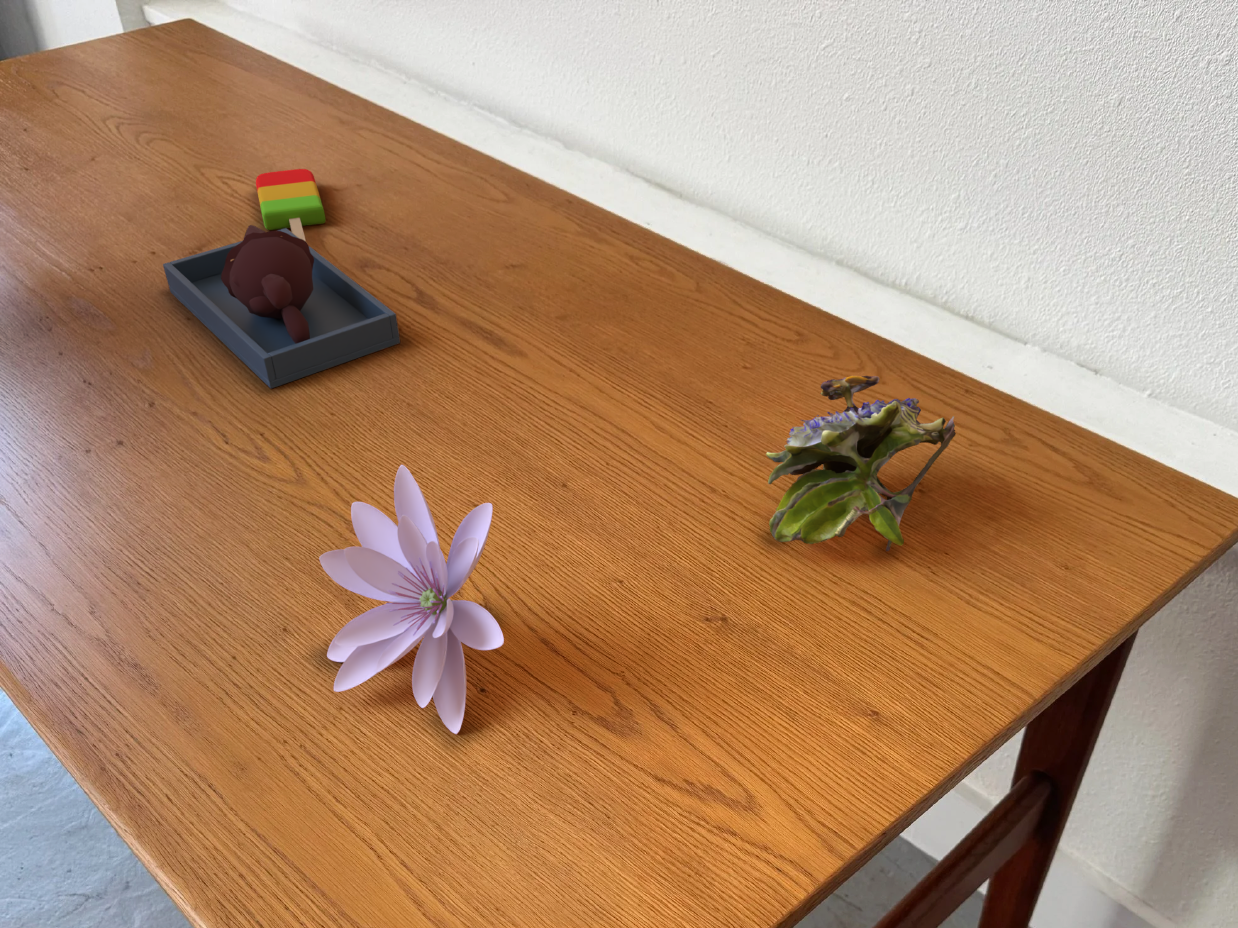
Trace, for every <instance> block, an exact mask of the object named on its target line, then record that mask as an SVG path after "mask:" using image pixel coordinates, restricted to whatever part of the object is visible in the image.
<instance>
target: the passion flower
mask: <svg viewBox="0 0 1238 928" xmlns="http://www.w3.org/2000/svg"><path fill="white" fill-rule="evenodd" d="M879 382H880V376H878V375H873V376H871V375H862V376H861V375H850V376H848V377H846V376H845V377H843V378H840V379H835V378H834V379H828V380H825V381H823V382H822V383H821V384H820V389H821V392H820V395H821V396H822V397H827V399H828V401H834V400H839V399H840V400H841V399H843V398H844V400H845V402H846V408H845V409H844V410H843V411H842V412H839V411H837V410H836V411H835V413H831V412H830V411H827V414H828V416H820V415H819V414H817V415H816V416H815V417H813V418H812V419H800V421H801V422H804V423H803V426H792V427H791V429H790V431H789V433H788V435H789V437H787V440H785V441H786V444H784V449H785V450H782V451H781V452H780V451H779V452H770V451H767V452H765V456H766V457H767V458H768V459H769V460H771V461H773V462H774V463H778V465H777V466H776V467H774V469H773V470H772V472H771V473H770V474H769V476H768V480H767V483H768V485H772V484H773V482H775V481H776V480H778V479H779V478H781V477H783V476H788V475H791V476H798V477H797V479H796V481H795V482H793V483H792V485H790V487H788V489H787V490H786V491H785V492H784V494H783V496H782V498H781V500H780V501H779V503H778V505H777V507H776V508H775V513H773V515H772V517H771V518H770V519H769V522H768V525H769V531H770V533H771V534H770V535H771V536H772V537H773V538H774V540H775V541H776V542H779V543H787V542H793V541H801V542H802V543H804V544H806V545H815V544H819V543H822V542H826V541H828V540H831V539H833V538H835V537H838V538H843V537H844V536H845V535H846V532H847V529H848V527H850V526H851V525H852V524H853V523H855V522H856V520H857V519H858V518H859V517H861V516H863V515H868V519H869V522H870V523H871V525H873V528H874V530H875V531H877V533H879V534H880V535H882V537H884V538H885V539H886V540H888V541H887V544H886V548H885V552H889V551H890V550H891V546H892V543H893V544H895V545H897V546H900V547H901V546H903V545H904V542H905V540H904V538H903V534H902V531H901V528H900V523H901V520H902V517H903V515H904V511H905V510H906V509H907V507H908V505H909V504H910V502H911V501H912V498H913V494H914V492H915V490H916V488H917V486H918V485H919V484H920V482H921V481H922V480H923V479H924V477H925V476H926V474H927V472H928V471H929V470H930V468H931V467H932V466H933V464H934V463H935V462H936V460H937V459H938V458H939V457H940V455H941V454H942V453H943V452H944V451H945V450H946V449H947V448H948V447H949V445H950V443H951V441H952V440H953V439H954V437H956V435H957V433H956V430H955V427H956V425H955V422H954V419H955V416H954V415H953V416H952V417H951V418H950V419H949V420H948V422H947V421H946V419H945V418H944V417H941V418H938V419H936V420H935V421H933V422H928V423H927V422H926V423H923V422H920V421H919V420H917V419H918V417H919V415H920V413H921V412H922V408H920V407H919V406H917V405H919V403H920V400H919V399H918V398H916V397H914V398H913V397H912V398H911V397H908V398H906V399H904V400H902V401H901V400H900V399H899V398H894V399H892V400H891V401H889V402H888V403H886V402H885V400H879V399H876V400H875V402H874V403H870V401H866V402H865V401H864V402H862V405H861V407H858V406H857V405H856V404H855V402H854V399H853V398H854V394H855V393H860V392H863V391H865V390H867V389H869V388H872V387H874V386H876V385H877V384H879ZM946 422H947V423H946ZM945 424H946V425H945ZM944 426H945V427H944ZM922 443H926V444H931V445H934V446H937V445H938V444H939V443H940V446H939V448H938V449H937V450H936V451H935V452H934V453H932V456H931V457H930V458H929V459H928V461H927V462H926V464H925V465H924V467H923V468H922V469H921V470H920V471H919V473H918V474H917V475H916V477H915V478H914V479H913V481H912V482H911V483H910V484H909V485H907V486H906V487H905V488H903V489H901V490H899V491H891V490H890V489H888V488H887V487H886V486H885V485H884V484H883V482H882V481H881V480H880V479H879V477H878V474H879V471H880V470H881V468H883V466H885V465H886V464H887V463H888V462H889V461H890V460H891V459H892V458H893V457H894V456H895V455H896V454H898V453H899V452H901V451H904V450H906V449H909V448H911V447H915V446H918V445H920V444H922ZM779 463H780V464H779ZM821 466H822V469H821V468H819V467H821ZM881 495H882V496H881ZM884 497H885V498H886V499H885V498H884Z"/></svg>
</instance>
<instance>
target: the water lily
mask: <svg viewBox="0 0 1238 928" xmlns="http://www.w3.org/2000/svg"><path fill="white" fill-rule="evenodd" d="M396 471H397V472H396V475H395V478H394V484H393V501H394V503H393V504H394V509H395V514H396V518H397V521H398V523H395V522H394V520H392V519H391V518H390V517H389V516H388V515H386V514H385V513H383V511H381V510H380V509H378V508H377V507H375V506H373V505H372V504H370V503H369V504H368V503H367V502H363V501H354V502H352V503H351V507H350V514H351V515H350V516H351V522H352V527H353V530H354V533H355V535H356V537H357V540H358V542H359V543H360V545H361V546H356V545H355V546H347V547H345V548H343V549H333V550H329V551H326V552H324V553H322V554H320V556H319V558H318V560H319V563H320V565H321V567H322V569H323V570H324V572H325V573H326V574H327V575H328V576H329V577H330V578H331V580H333V581H334V582H335V583H336V584H338V585H339V586H341V587H342V588H344V589H346V590H348V591H350V592H351V593H355V594H357V595H359V596H363V597H366V598H368V599H372V600H377V601H380V602H386V603H383V604H380V605H378V606H375V607H373V608H370V609H369V610H367V611H365V612H363V613H361V614H359V615H358V616H356V617H354V618H352V619H351V620H350V621H348V622H347V623H346V624H345V625H344V626H343V627H342V628H341V629H340V630H339V631H338V632H337V633H336V634H335V636H334V638H333V639H332V641H331V642H330V644H329V645H328V648H327V653H326V657H327V658H328V660H330V661H332V662H337V663H342V664H341V665H340V668H339V670H338V671H337V673H336V677H335V679H334V683H333V691H334V692H336V693H339V692H345V691H348V690H351V689H353V688H356V687H357V686H359V685H361V684H364V683H365V682H367V681H368V680H370V679H372V678H374V677H375V676H376V675H378V674H380V673H381V672H383V671H384V670H385V669H387V668H389V667H391V666H392V665H393V664H395V663H396V662H398V661H399V660H401V659H402V658H403V657H405V656H406V655H407V654H408V653H410V652H411V651H412V650H413V649H414V648H415V647H416V646H417V645H418V644H419V643H420V642H421V643H420V645H419V647H418V649H417V653H416V655H415V657H414V662H413V665H412V666H413V667H412V675H411V687H412V692H413V696H414V699H415V701H416V703H417V705H418V706H419V707H420V708H421V709H424V708H426V707H428V704H429V703H430V702H431V700H432V698H433V702H434V706H435V709H436V711H437V714H438V716H439V718H440V720H441V721H442V723H443V725H445V727H446V728H447V729H448V730H449V731H450V732H451V733H452V734H454V735H458V734H459V732H460V731H461V728H462V725H463V722H464V716H465V711H466V702H467V668H466V661H465V654H464V650H463V645H462V644H464V645H465V646H467V647H469V648H471V649H473V650H479V651H490V650H496V649H498V648H501V647H502V646H503V645H504V643H505V638H504V637H505V636H504V634H503V631H502V629H501V626H500V624H499V623H498V621H497V620H496V619H495V617H494V616H493V615H492V613H490V611H488V610H487V609H486V608H484V607H483V606H482V605H480V604H478V603H477V602H475V601H472V600H465V599H454V600H453V599H451V597H452V596H454V595H455V594H456V593H458V592H459V591H460V589H462V587H463V586H464V585H465V584H466V582H467V581H468V579H469V578H470V576H471V575H472V573H473V571H474V570H475V568H476V566H477V565H478V564H479V561H480V559H481V557H482V554H483V552H484V550H485V547H486V544H487V541H488V537H489V534H490V529H491V526H492V519H493V510H494V509H493V508H494V506H493V503H491V502H484V503H482V504H481V503H480V505H478V506H476V507H474V508H473V509H472V510H470V511H469V512H468V513H467V514H466V516H464V518H463V519H462V520H461V522H460V524H459V525H458V527H457V529H456V531H455V533H454V535H453V538H452V541H451V544H450V548H449V552H448V555H447V560H446V559H445V556H444V554H443V551H442V549H441V544H440V539H439V535H438V530H437V527H436V526H437V525H436V523H435V520H434V516H433V514H432V511H431V509H430V506H429V503H428V502H427V500H426V499H427V498H426V497H425V495H424V492H423V491H422V489H421V487H420V485H419V484H418V482H417V481H416V479H415V477H414V475H413V474H412V473H411V471H410V470H409V469H408V468H407V467H406V466H405V465H404V464H400V466H399V467H398V469H397V470H396Z"/></svg>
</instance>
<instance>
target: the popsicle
mask: <svg viewBox="0 0 1238 928" xmlns="http://www.w3.org/2000/svg"><path fill="white" fill-rule="evenodd" d="M255 188H256V193H257V197H258V203H259V207H260V213H261V216H262V222H263V226H264V228H265V229H266V230H267V231H276V230H281V229H284V228H287V229H290V230H291V232H292V233H293V234H294V235H296V236H297V237H298V238H300V239H302V240H304V241H306V242H307V240H306V236H305V233H304V229H303V227H307V226H316V225H322V224H325V223H326V213H325V210H324V206H323V202H322V199H321V196H320V192H319V189H318V186H317V183H316V178H315V175H314V174H313V172H312V171H311V170H309V169H308V168H307V169H306V168H296V169H295V168H293V169H286V170H278V171H269V172H263V173H261V174H258V175H257V177H256V179H255Z"/></svg>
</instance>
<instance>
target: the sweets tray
mask: <svg viewBox="0 0 1238 928" xmlns="http://www.w3.org/2000/svg"><path fill="white" fill-rule="evenodd" d="M277 231H282V232H284V233H287V234H289V235H291V236H293V237H296V238H298V237H297V236H296V235H294V234H293V233H292V231H290V230H289V228H283V229H277ZM242 241H243V240H240V241H237V242H234V243H230V244H227V245H224V246H220V247H216V248H213V249H209V250H206V251H202V252H198V253H196V254H192V255H188V256H185V257H182V258H179V259H175V260H171V261H169V262H165V263H163V264H162V267H163V270H164V274H165V278H166V281H167V286H168V289H169V291H170V293H171V294H172V295H173V296H174V297H175V298H176V299H177V300H178V301H179V302H180V303H181V304H182V305H183V306H184V307H185V309H187V310H188V311H189V312H191V313H192V314H193V316H194V317H196V319H198V320H199V321H200V322H201V323H202V324H203V325H204V326H205V327H206V328H207V329H208V330H209V331H210V332H211V333H212V334H213V335H214V336H215V337H216V338H218V340H219V341H221V343H223V344H224V345H225V346H226V347H227V348H228V350H230V351H231V352H232V353H233V354H234V355H235V356H236V357H237V358H238V359H239V360H240V361H241V362H242V363H243V364H244V365H246V366H247V368H249V370H251V371H252V372H253V373H254V374H255V375H256V376H257V378H259V379H260V380H261V381H262V382H263V383H264V384H265V385H266V386H267V387H268V388H269V389H275V388H277V387H280V386H283V385H286V384H289V383H291V382H294V381H297V380H299V379H303V378H305V377H309V376H311V375H314V374H317V373H319V372H322V371H325V370H328V369H332V368H333V367H336V366H339V365H343V364H345V363H347V362H351V361H354V360H356V359H359V358H362V357H364V356H368V355H370V354H373V353H377V352H380V351H382V350H385V349H387V348H390V347H393V346H396V345H398V344H400V343H401V339H400V333H399V332H400V331H399V327H398V326H399V325H398V319H397V313H395V311H393V310H391V308H390V307H388V306H387V305H385V304H384V303H383V302H382V301H381V300H379V299H378V298H376V296H374V295H373V294H371V293H370V292H368V291H367V290H366V289H365V288H363V287H362V286H361V285H359V284H358V283H357V282H356V281H355V280H353V279H352V278H351V277H350V276H348V275H347V274H346V273H344V272H343V271H341V269H339V268H338V267H337V266H335V265H334V264H333V263H332V262H331V261H329V260H328V259H326V257H324V256H322V255H321V254H320V253H319V252H317V250H315V249H313V248H312V247H311V246H310V245H308V246H309V249H310V253H311V254H312V255H313V257H314V264H313V269H312V280H313V291H312V293H311V295H310V296H309V298H308V300H307V301H306V303H305V304H304V306H303V308H302V309H301V311H300V312H301V313H302V314H303V316H304V317H305V319H306V320H307V322H308V325H309V333H310V339H309V340H306V341H303V342H300V343H297V344H296V343H295V342H294V341H293V340H292V338H291V337H290V335H289V333H288V332H287V329H286V326H285V323H284V320H283V319H274V318H267V317H260V316H257V315H255V314H251V313H249V311H248V309H247V307H246V306H245V305H243V304H242V303H241V302H240V301H239V300H238V299H237V298H235V297H233V296H231V295H230V294H229V291H228V289H227V287H226V286H225V285H224V283H223V282H222V280H221V274H222V271H223V269H224V266H225V260H226V257H227V254H228V253H229V251H230V250H231V249H232V248H234V247H235V246H237V245H238V244H239V243H241V242H242Z"/></svg>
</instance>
